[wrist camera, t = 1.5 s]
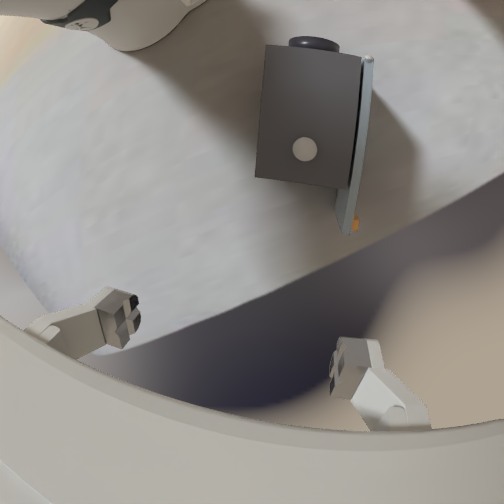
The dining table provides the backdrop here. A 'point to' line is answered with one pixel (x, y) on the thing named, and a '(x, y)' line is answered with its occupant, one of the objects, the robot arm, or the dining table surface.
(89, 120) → the dining table surface
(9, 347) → the robot arm
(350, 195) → the side door
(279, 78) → the camera housing
